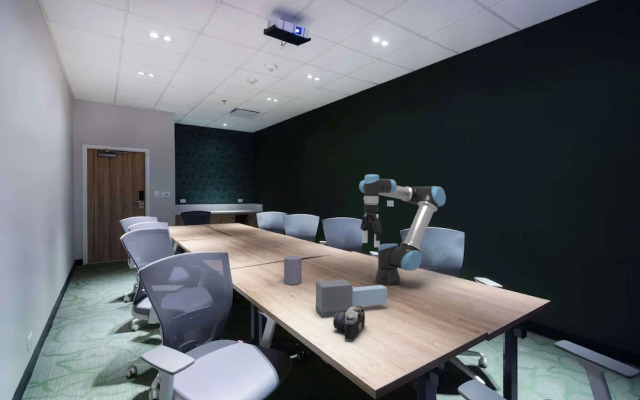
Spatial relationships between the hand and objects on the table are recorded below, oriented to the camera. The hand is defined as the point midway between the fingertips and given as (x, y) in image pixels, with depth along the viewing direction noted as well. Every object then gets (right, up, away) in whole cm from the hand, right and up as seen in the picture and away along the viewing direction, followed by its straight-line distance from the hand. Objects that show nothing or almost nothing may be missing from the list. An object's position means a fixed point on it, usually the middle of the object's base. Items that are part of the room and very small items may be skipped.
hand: (370, 244), depth 158 cm
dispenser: (-20, -27, -22) cm, 41 cm away
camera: (-15, -28, -41) cm, 52 cm away
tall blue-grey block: (-5, -24, -18) cm, 30 cm away
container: (-43, -26, +22) cm, 54 cm away
